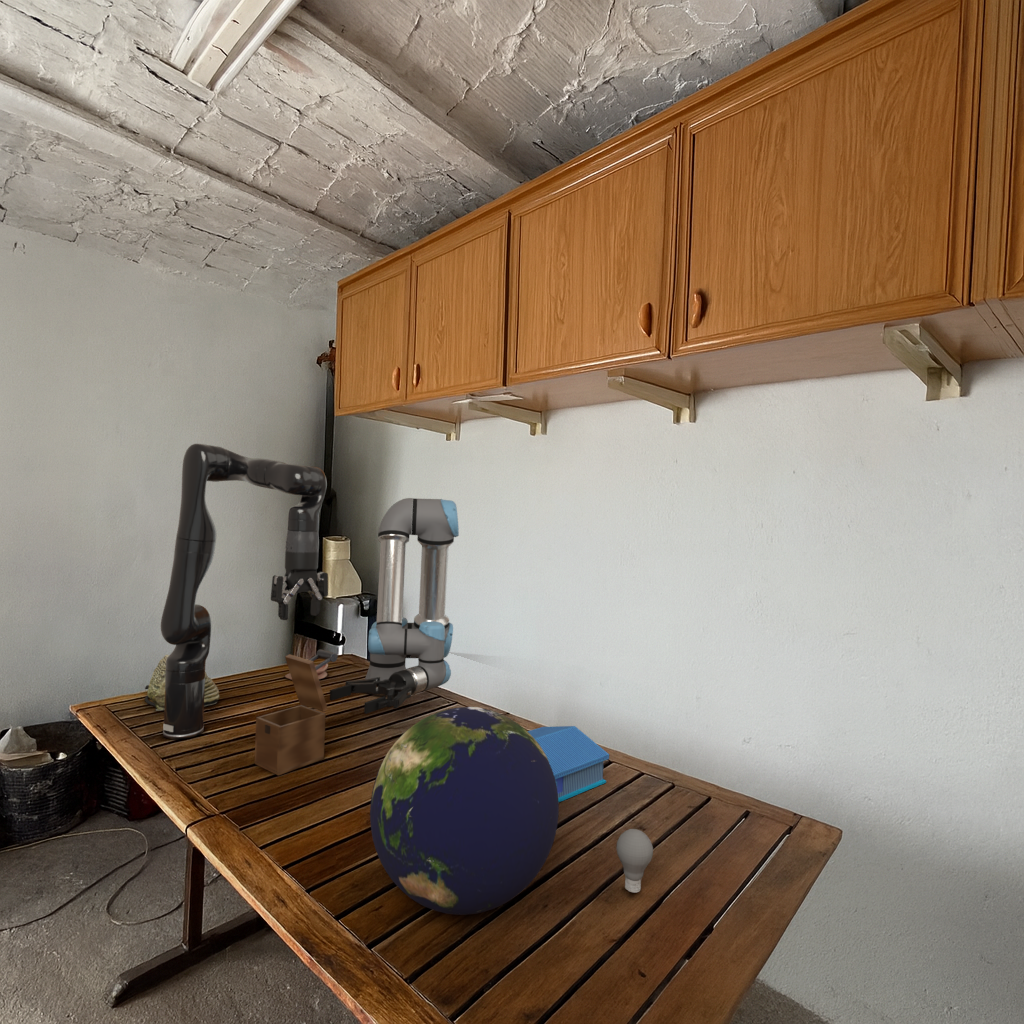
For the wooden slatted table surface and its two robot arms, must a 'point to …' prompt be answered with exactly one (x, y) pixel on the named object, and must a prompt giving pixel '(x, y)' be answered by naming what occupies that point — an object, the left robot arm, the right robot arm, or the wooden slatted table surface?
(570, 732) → the model building
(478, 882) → the globe
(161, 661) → the fossil
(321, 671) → the anatomical model
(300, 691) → the lid
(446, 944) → the wooden slatted table surface
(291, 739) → the chest
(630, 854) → the light bulb
